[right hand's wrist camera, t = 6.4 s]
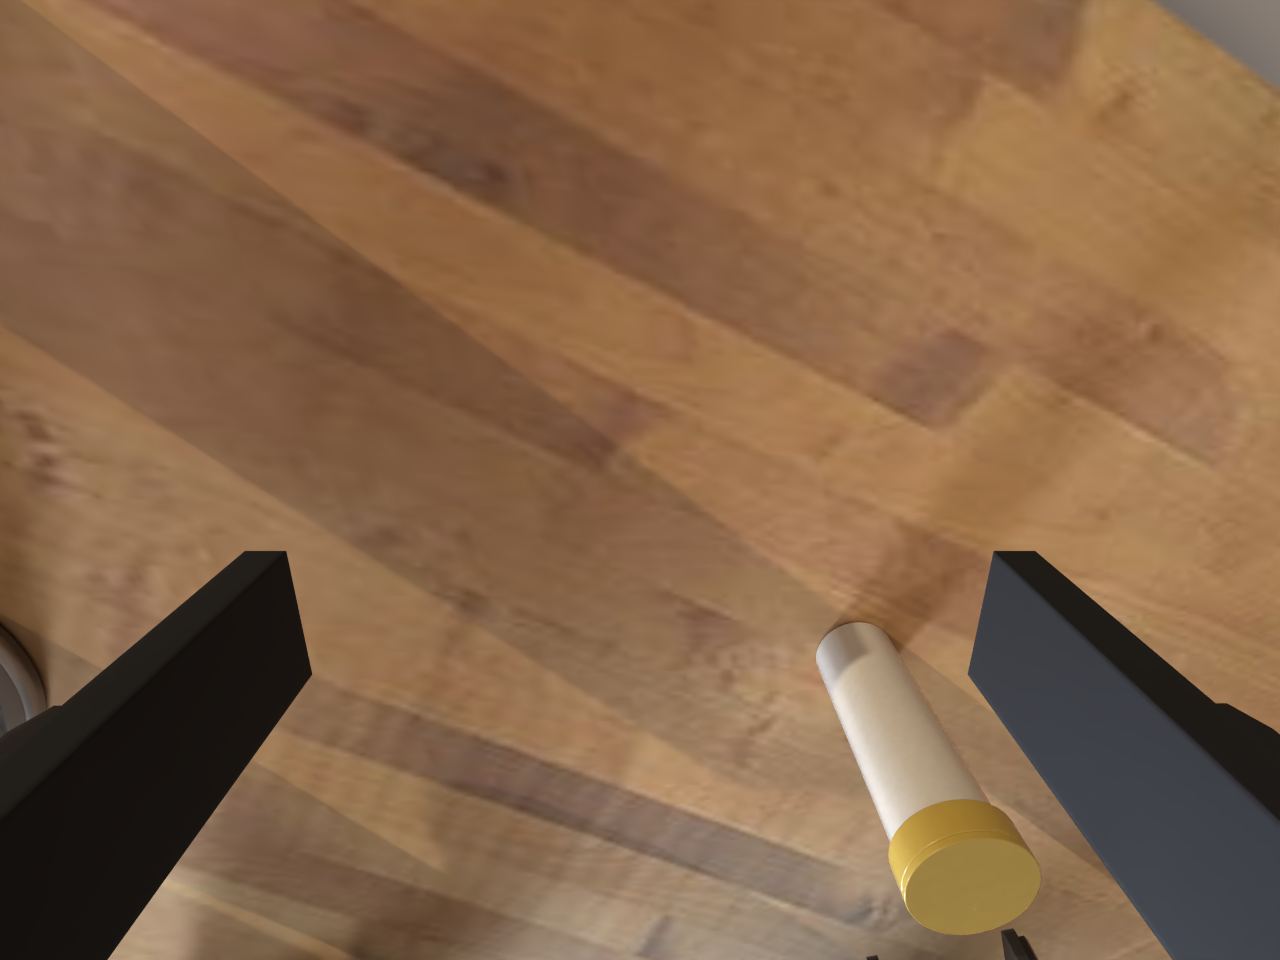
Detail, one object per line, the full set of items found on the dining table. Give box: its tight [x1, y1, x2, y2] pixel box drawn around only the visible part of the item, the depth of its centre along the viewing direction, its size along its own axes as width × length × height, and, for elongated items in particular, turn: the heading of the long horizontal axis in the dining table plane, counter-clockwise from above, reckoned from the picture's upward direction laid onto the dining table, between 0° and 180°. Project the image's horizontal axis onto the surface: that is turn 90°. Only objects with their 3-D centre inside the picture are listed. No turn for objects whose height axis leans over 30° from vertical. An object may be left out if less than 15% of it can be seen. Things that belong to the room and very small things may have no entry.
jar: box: [816, 622, 990, 843], centre depth 35 cm, size 5×5×15 cm
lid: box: [889, 799, 1041, 935], centre depth 28 cm, size 5×5×2 cm
